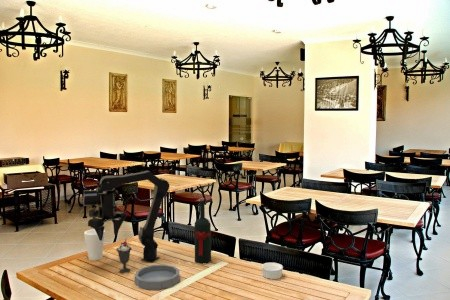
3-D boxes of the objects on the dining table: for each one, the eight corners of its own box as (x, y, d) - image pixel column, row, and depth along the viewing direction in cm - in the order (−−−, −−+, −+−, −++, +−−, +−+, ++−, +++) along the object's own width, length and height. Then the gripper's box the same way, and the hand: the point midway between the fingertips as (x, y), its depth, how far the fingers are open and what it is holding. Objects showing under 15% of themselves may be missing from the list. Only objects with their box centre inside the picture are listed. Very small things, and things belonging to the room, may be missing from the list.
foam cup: (98, 253, 194) (97, 227, 193) (109, 256, 188) (108, 230, 187) (81, 258, 186) (80, 232, 185) (92, 262, 181) (91, 235, 180)
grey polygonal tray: (152, 269, 173) (152, 262, 172) (187, 275, 165) (187, 268, 165) (126, 284, 156) (125, 277, 156) (163, 293, 149) (162, 285, 148)
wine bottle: (192, 265, 176) (190, 200, 174) (196, 257, 186) (195, 196, 184) (209, 266, 175) (208, 201, 173) (212, 258, 185) (211, 196, 183)
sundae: (128, 274, 167) (127, 240, 166) (114, 273, 168) (113, 239, 167) (135, 268, 173) (134, 236, 172) (121, 267, 174) (120, 235, 173)
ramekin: (285, 273, 166) (285, 264, 166) (279, 281, 158) (279, 271, 158) (265, 270, 170) (265, 261, 170) (258, 278, 162) (258, 268, 161)
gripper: (109, 198, 186) (109, 230, 188) (78, 206, 170) (79, 240, 171) (126, 200, 181) (127, 233, 182) (97, 208, 165) (97, 244, 166)
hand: (108, 237), depth 176 cm, fingers open, 9 cm apart
